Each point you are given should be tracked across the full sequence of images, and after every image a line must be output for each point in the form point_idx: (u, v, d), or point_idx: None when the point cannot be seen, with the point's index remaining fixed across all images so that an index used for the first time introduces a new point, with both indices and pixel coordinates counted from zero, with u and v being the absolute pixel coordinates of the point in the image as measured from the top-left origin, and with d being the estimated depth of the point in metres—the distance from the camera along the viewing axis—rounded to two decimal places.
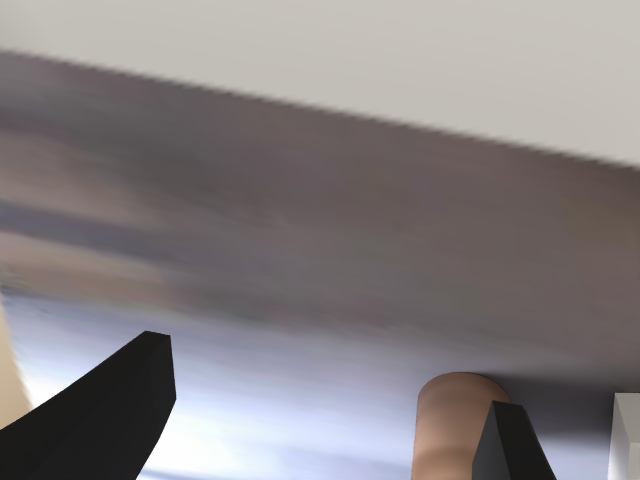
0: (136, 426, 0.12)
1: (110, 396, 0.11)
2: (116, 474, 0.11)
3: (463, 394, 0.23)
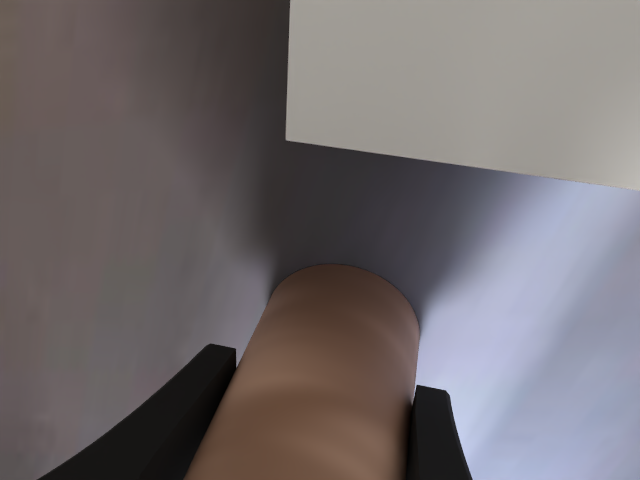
0: None
1: (188, 413, 0.10)
2: None
3: None
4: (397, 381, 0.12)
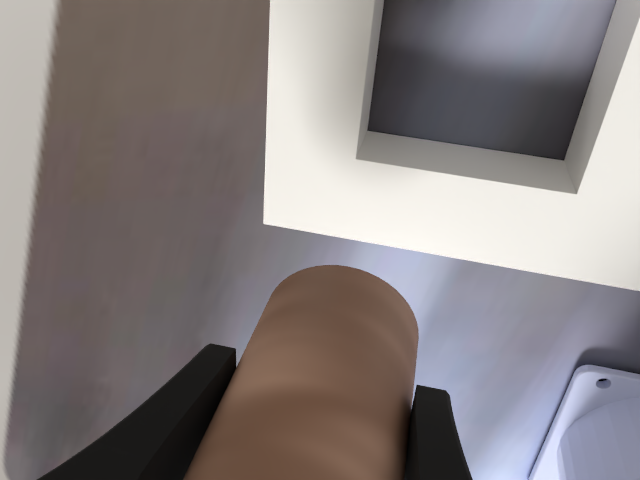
0: None
1: (187, 413, 0.10)
2: None
3: None
4: (397, 383, 0.12)
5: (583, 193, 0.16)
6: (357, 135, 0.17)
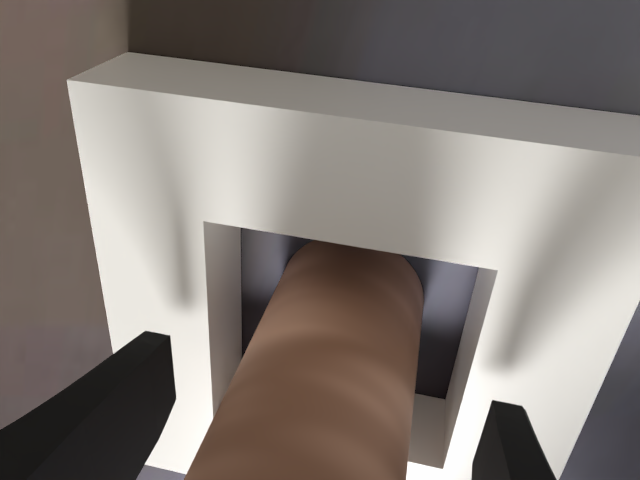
0: (136, 426, 0.12)
1: (110, 396, 0.11)
2: (116, 474, 0.11)
3: None
4: (406, 336, 0.13)
5: (450, 466, 0.15)
6: (211, 399, 0.16)
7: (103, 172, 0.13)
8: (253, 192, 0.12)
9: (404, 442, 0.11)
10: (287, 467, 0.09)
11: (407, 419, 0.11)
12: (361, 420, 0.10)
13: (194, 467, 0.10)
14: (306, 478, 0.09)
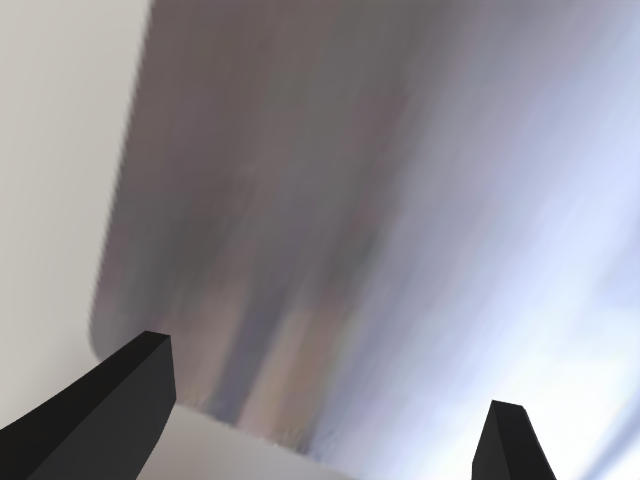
0: (136, 426, 0.12)
1: (110, 396, 0.11)
2: (116, 474, 0.11)
3: None
4: None
5: None
6: None
7: None
8: None
9: None
10: None
11: None
12: None
13: None
14: None
